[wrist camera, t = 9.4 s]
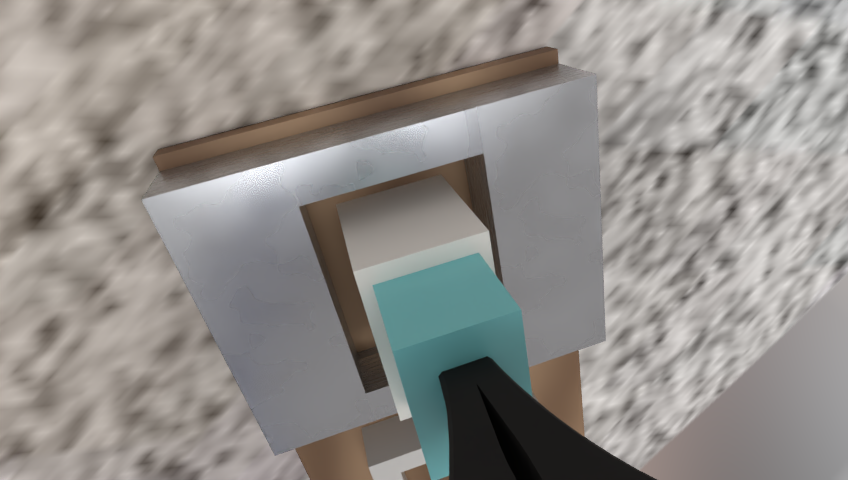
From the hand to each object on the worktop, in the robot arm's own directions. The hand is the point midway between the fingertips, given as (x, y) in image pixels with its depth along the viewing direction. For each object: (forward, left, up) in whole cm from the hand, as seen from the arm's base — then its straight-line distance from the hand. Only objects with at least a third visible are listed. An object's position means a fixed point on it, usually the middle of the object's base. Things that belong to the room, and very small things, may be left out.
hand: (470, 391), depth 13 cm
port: (0, 0, -9) cm, 9 cm away
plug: (0, 0, -8) cm, 8 cm away
